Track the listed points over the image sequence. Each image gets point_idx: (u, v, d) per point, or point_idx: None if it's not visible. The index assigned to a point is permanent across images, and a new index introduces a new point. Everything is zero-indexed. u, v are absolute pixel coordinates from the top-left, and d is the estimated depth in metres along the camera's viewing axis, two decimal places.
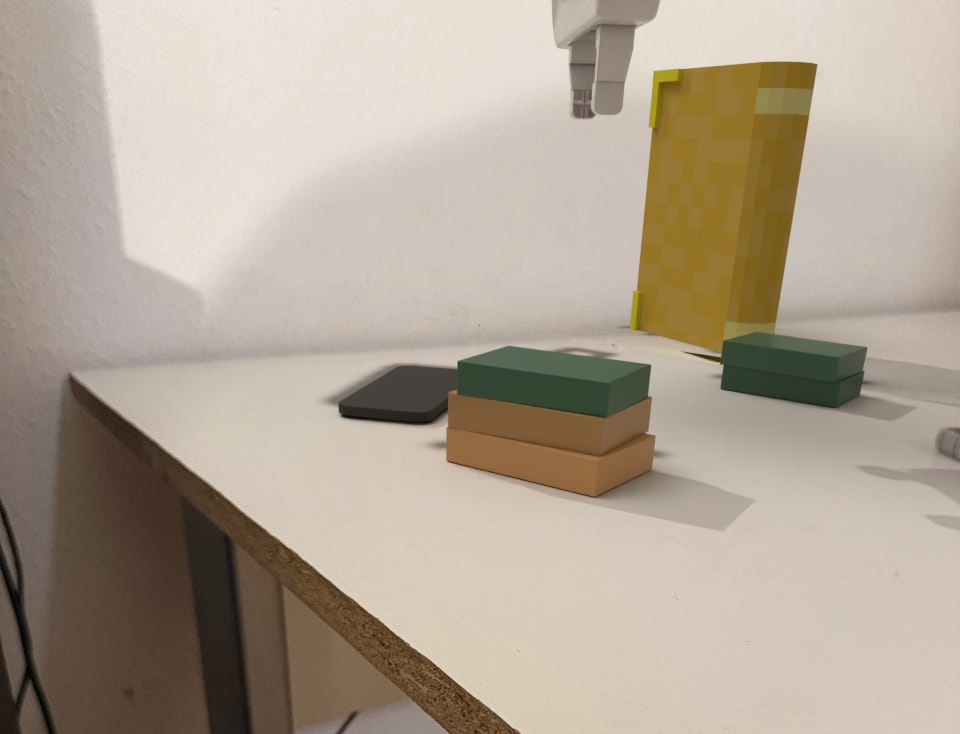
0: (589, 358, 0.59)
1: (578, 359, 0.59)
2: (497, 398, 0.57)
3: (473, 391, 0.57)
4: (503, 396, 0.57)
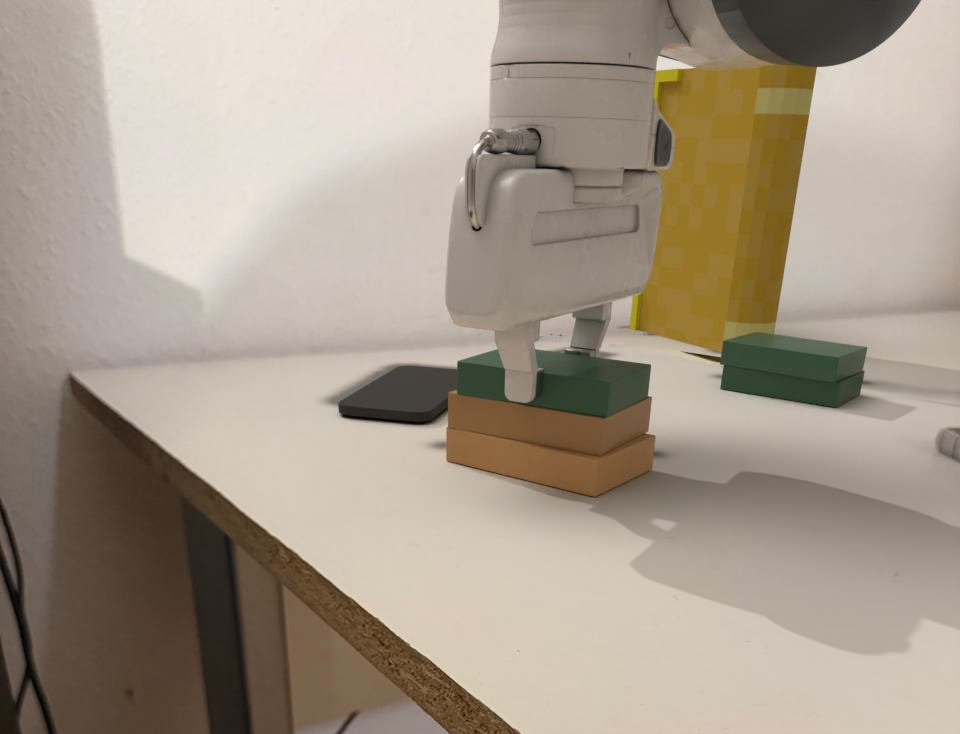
0: (589, 358, 0.59)
1: (578, 359, 0.59)
2: (497, 398, 0.57)
3: (473, 391, 0.57)
4: (503, 396, 0.57)
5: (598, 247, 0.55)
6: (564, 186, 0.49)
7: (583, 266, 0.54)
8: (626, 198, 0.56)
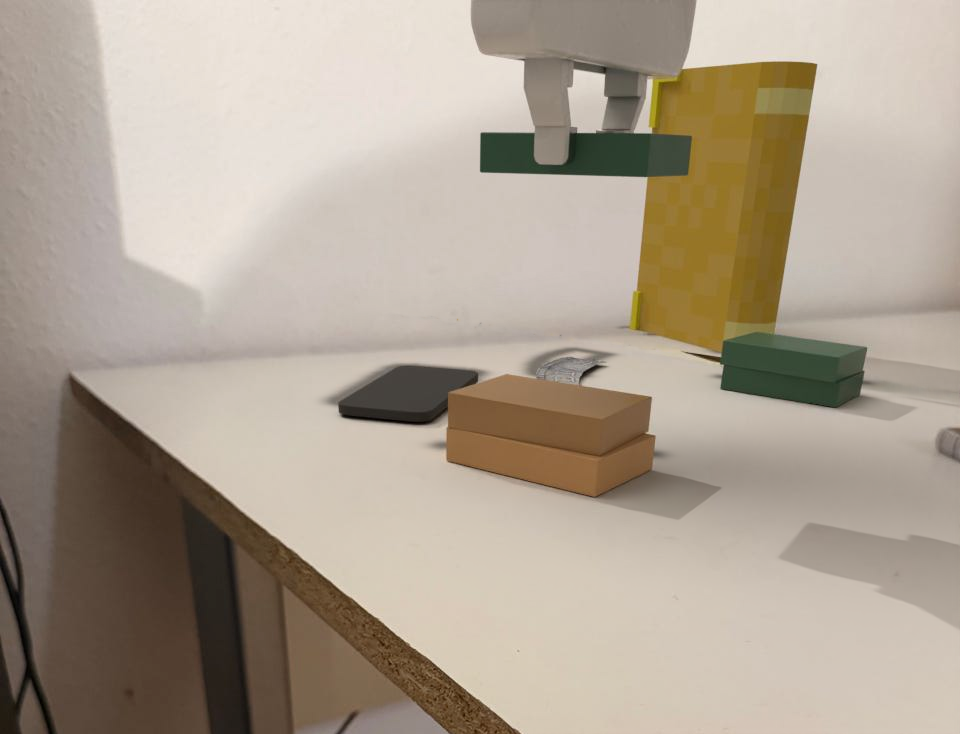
0: None
1: None
2: (524, 171, 0.52)
3: (498, 166, 0.53)
4: (531, 167, 0.52)
5: None
6: None
7: (620, 9, 0.49)
8: None
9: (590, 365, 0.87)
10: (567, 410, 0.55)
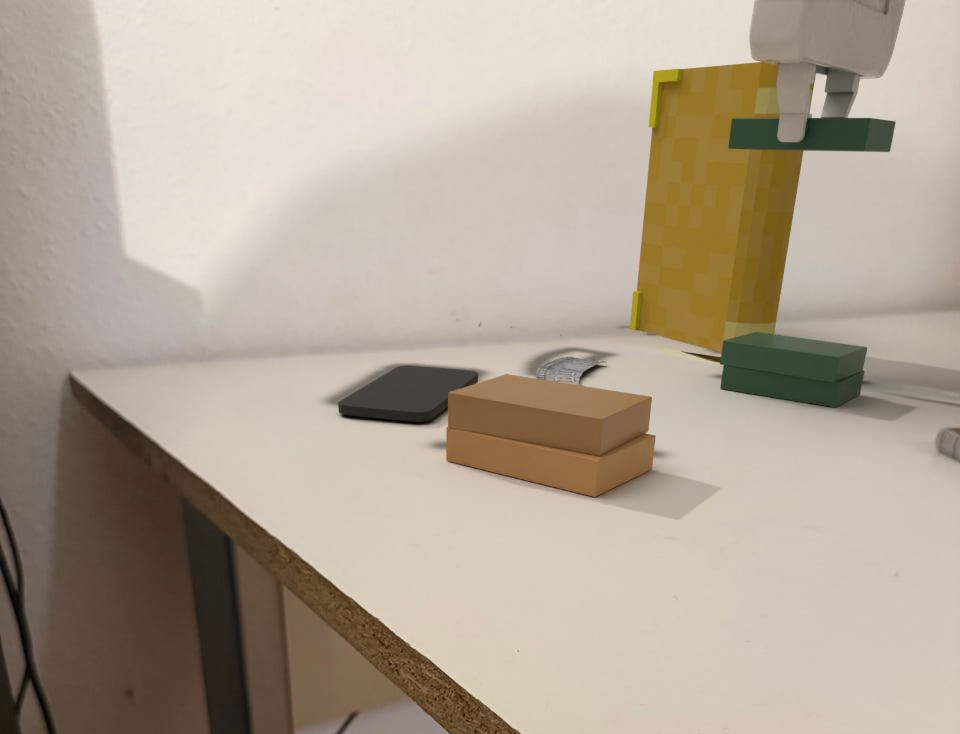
0: None
1: None
2: (765, 147, 0.69)
3: (743, 144, 0.70)
4: (771, 144, 0.69)
5: (861, 14, 0.66)
6: None
7: (851, 26, 0.65)
8: None
9: (590, 365, 0.87)
10: (567, 410, 0.55)
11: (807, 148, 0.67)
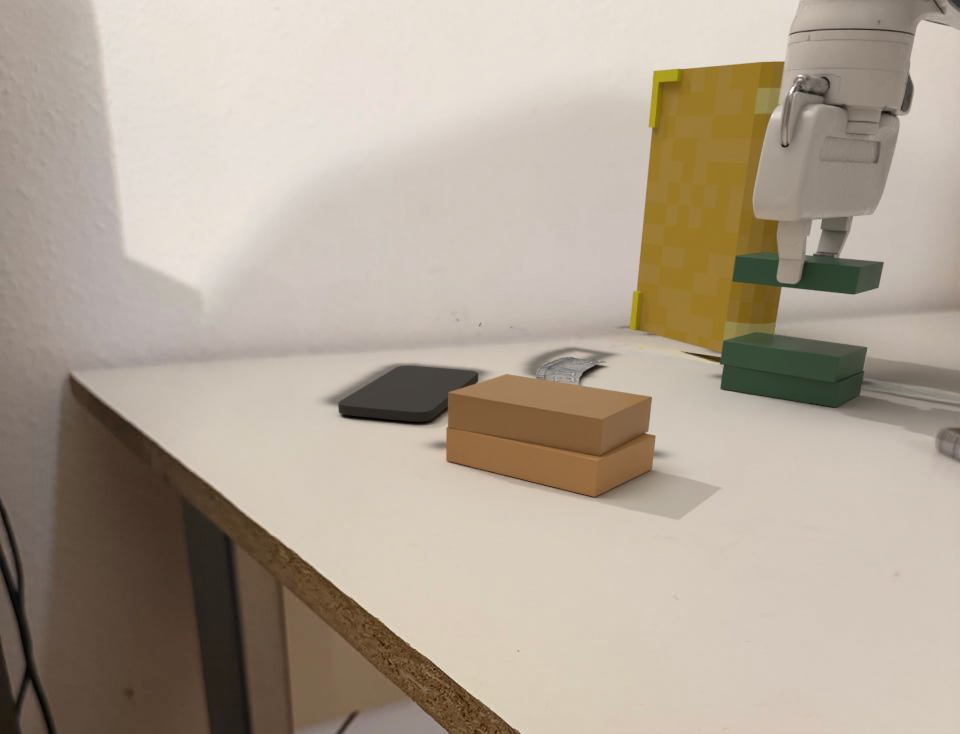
0: (833, 258, 0.78)
1: (826, 258, 0.78)
2: (765, 283, 0.76)
3: (746, 279, 0.77)
4: (771, 281, 0.76)
5: (854, 170, 0.74)
6: (842, 119, 0.68)
7: (844, 182, 0.73)
8: (876, 134, 0.74)
9: (590, 365, 0.87)
10: (567, 410, 0.55)
11: (803, 288, 0.75)
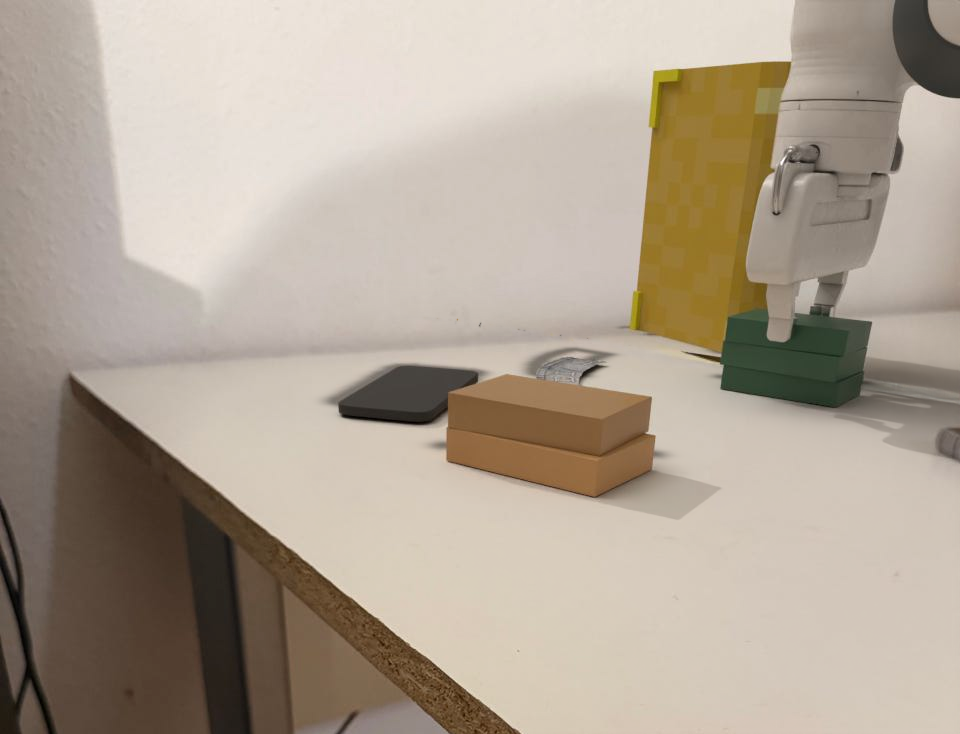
0: (823, 317, 0.80)
1: (816, 317, 0.80)
2: (757, 343, 0.78)
3: (738, 339, 0.79)
4: (762, 342, 0.78)
5: (845, 229, 0.76)
6: (833, 185, 0.70)
7: (835, 242, 0.75)
8: (866, 194, 0.76)
9: (590, 365, 0.87)
10: (567, 410, 0.55)
11: (794, 349, 0.77)
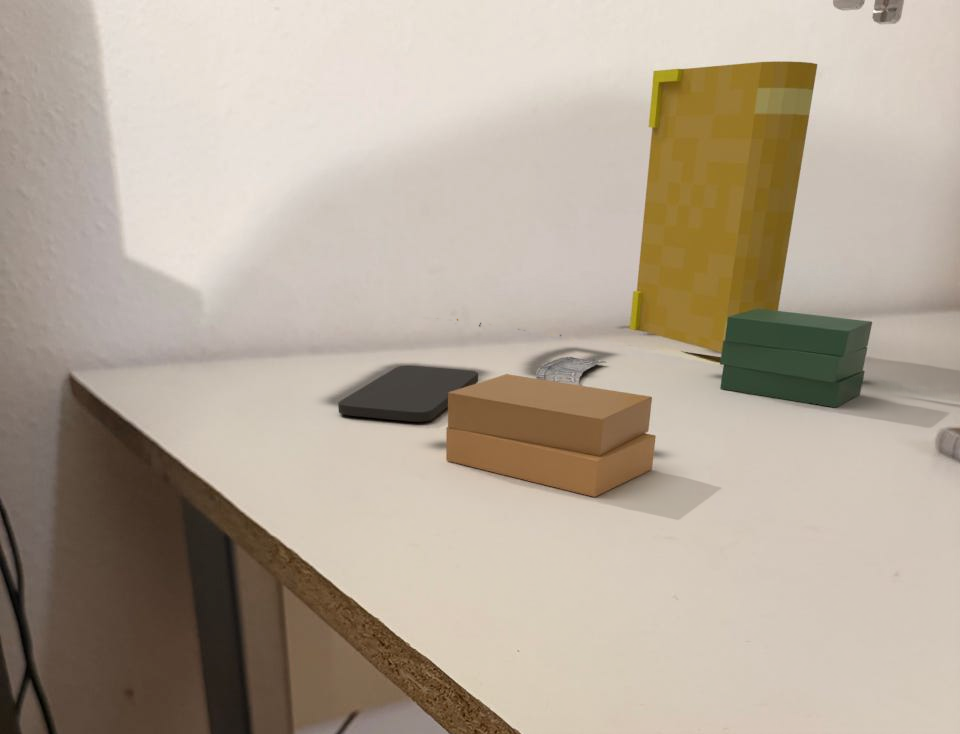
0: (823, 317, 0.80)
1: (816, 317, 0.80)
2: (757, 343, 0.78)
3: (738, 339, 0.79)
4: (762, 342, 0.78)
5: None
6: None
7: None
8: None
9: (590, 365, 0.87)
10: (567, 410, 0.55)
11: (794, 349, 0.77)
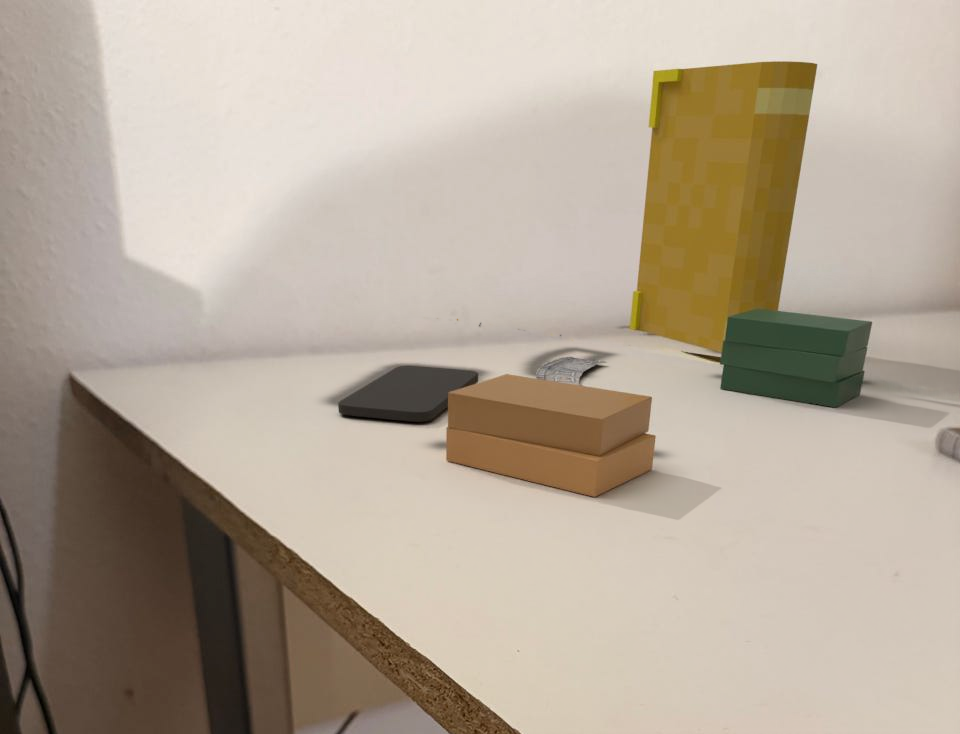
0: (823, 317, 0.80)
1: (816, 317, 0.80)
2: (757, 343, 0.78)
3: (738, 339, 0.79)
4: (762, 342, 0.78)
5: None
6: None
7: None
8: None
9: (590, 365, 0.87)
10: (567, 410, 0.55)
11: (794, 349, 0.77)
